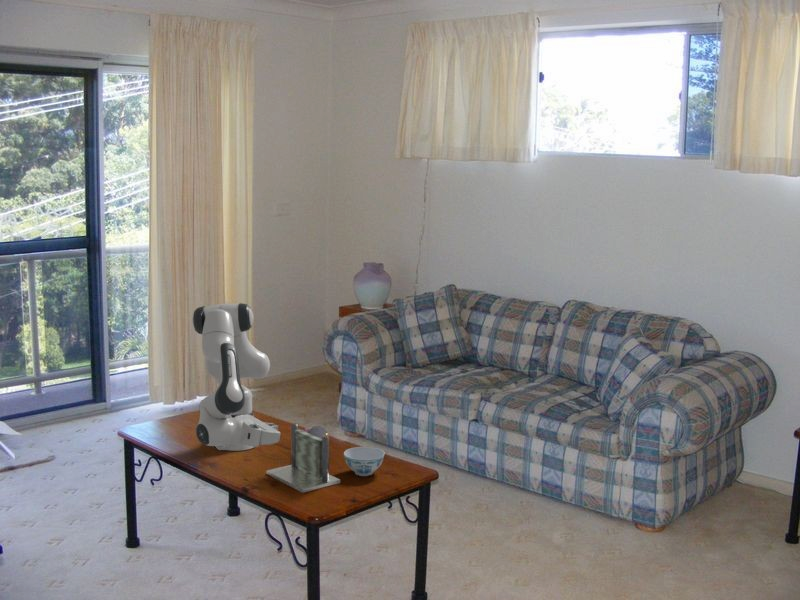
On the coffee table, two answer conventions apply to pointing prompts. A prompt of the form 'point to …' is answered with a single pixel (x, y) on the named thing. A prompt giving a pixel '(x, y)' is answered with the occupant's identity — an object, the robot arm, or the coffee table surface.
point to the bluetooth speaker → (317, 431)
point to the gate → (309, 453)
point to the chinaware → (364, 459)
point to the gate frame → (300, 477)
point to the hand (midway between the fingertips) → (275, 426)
